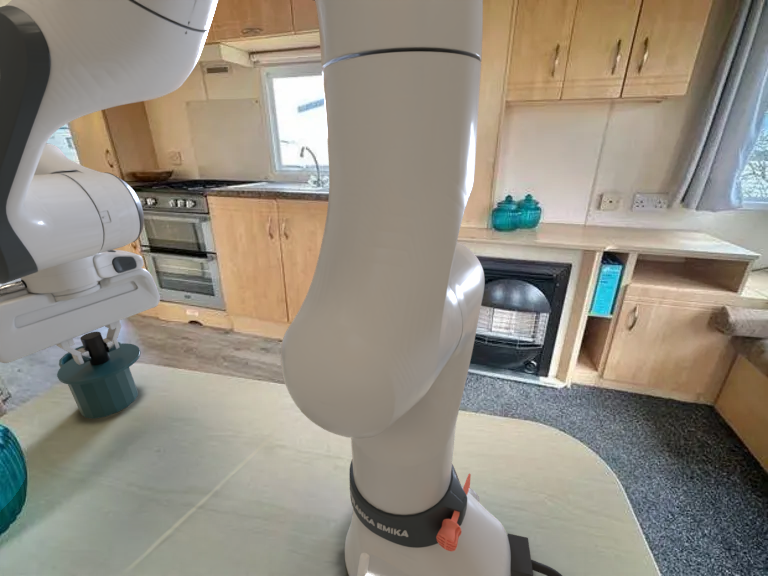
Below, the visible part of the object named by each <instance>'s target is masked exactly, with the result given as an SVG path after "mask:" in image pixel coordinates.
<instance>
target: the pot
mask: <svg viewBox="0 0 768 576" xmlns="http://www.w3.org/2000/svg"><path fill="white" fill-rule="evenodd" d="M118 344H122V343H121V342H119V341H118ZM81 348H84V346H83V345H81V346H78V347H75V348H74V349H75V350H78V349H81ZM71 359H73V356H72V354H71V353H69V352H67V353H64V354H63V356H61V357H60V358H59V361H58V366H59V369H60V368H61V367H62V366H63V365H64V364H65V363H67V362H68V361H70V360H71ZM135 382H136V381H135V379H134V377H133V374H132V370H131V368H130V367H128V368H127V369H125V370H124V371H122V372H120V373H118V374H116V375H113V376H111V377H108V378H106V379H103V380H99V381H96V382H92V383H87V384H79V385H70V384H67V386H68V389H69V391H70V393H71V395H72V398H73V400H74V402H75V404H76V406H77V408H78V410H79V413H80V415H81V416H83V417H84V418H85V419H100V418H105V417H109V416H111V415H115V414H117V413H119V412H120V411H122V410H124V409H126V408H128V407H129V406H130V405H131V404H132V403H134V401H136V399H137V397H138V396H139V392H138V388H137V385H136V383H135Z"/></svg>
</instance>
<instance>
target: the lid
mask: <svg viewBox="0 0 768 576" xmlns="http://www.w3.org/2000/svg"><path fill="white" fill-rule="evenodd" d="M79 339H80V341H81V344H82V346H84V349H85V350H88V351H89V354H90V355H89V356H90V357H91V359H92V360H90V361H88V362H86V363H84V364H81V365H79V364H77V363H76V362H75V361H74V358H73V359H71V360H70V361H68V362H67V363H65V364H64V365H63V366H62V367H61V368H60V367H59V369H58V371H57V373H56V377H57V379H58V381H59V382H60V383H62V384H64V385H68V384H70V385H79V384H87V383H92V382H96V381H99V380H103V379H106V378H108V377H111V376H113V375H116V374H118V373H120V372H122V371H124V370H125V369H127V368H128V367H129V368H130V367H131V366H133V365H134V364H135V363H136V362H138V360H139V359H140V357H141V353H142V352H141V349H140V347H139V346H138V345H136V344H133V343H121V344H119V347H120V348H118V349H115V350H113V351H111V352H108V351H107V348H106V346H105V343H104V341H103V339H104V338H103V336H102V333H101V331H91V332H88V333H86V334H83V335H81V336H80V337H79Z"/></svg>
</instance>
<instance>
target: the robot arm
mask: <svg viewBox="0 0 768 576" xmlns="http://www.w3.org/2000/svg"><path fill="white" fill-rule="evenodd" d="M313 1H314V3H315V7H316V15H317V21H318V32H319V47H320V62H321V70H322V71H321V74H322V75H321V76H322V83H323V84H322V85H323V98H324V100H323V101H324V109H325V110H324V112H325V114H324V115H325V125H326V126H325V127H326V142H327V153H328V154H327V157H328V198H327V199H328V200H327V201H328V202H327V210H326V217H325V223H324V228H323V234H322V239H321V244H320V249H319V253H318V257H317V262H316V265H315V269H314V273H313V276H312V279H311V282H310V285H309V288H308V290H307V292H306V296H305V298H304V299H303V302H302V304H301V306H300V308H299V310H298V311H297V313H296V315H295V316H294V318H293V319H292V322H290V324H289V326H288V327H287V329H286V331H285V332H284V335H283V337H282V341H281V346H280V368H281V372H282V378H283V381H284V385H285V387H286V390H287V392H288V394H289V396H290V398H291V400H292V401H293V403H294V404H295V406H296V407H297V409H298V410H299V411H300V412H301V413H302V414H303V415H304V416H305V417H306V418H307V419H308V420H309V421H310V422H312V423H313V424H315V425H316V426H318V427H320V428H321V429H322V430H324V431H327V432H329V433H331V434H333V435H337V436H340V437H343V438H350V447H351V461H350V464H349V497H350V502H351V506H352V517H351V521H350V525H349V527H348V530H347V532H346V536H345V542H344V561H345V567H346V571H347V574H348V576H534V572H536V573H539V574H542V575H545V576H563V575H562V574H561V573H560V572H559V571H557V570H556V569H555V568H553V567H551V566H549V565H547V564H544V563H542V562H539V561H537V560H533V559H532V557H531V550H530V549H531V548H530V542H529V537H526V536H522V535H517V534H512V533H508V532H507V531H506V529H505V527H504V525H503V524H502V523H501V521H500V520H499V519H498V518H496V517H495V515H493V514H492V513H491V512H490V511H489V510H488V509H487V508H486V507H484V505H482V504H481V503H480V496H479V495H478V494H477V492H476V491H475V490H474V489H472V488H471V473H468V475H467V477H466V480H465V482H464V485H463V486H462V484H461V481H460V478H459V477H458V476H459V475H458V473H457V471H456V468H455V466H454V464H453V458H454V449H455V441H456V440H455V438H456V431H457V430H456V429H457V423H458V417H459V411H460V409H461V408H460V407H461V404H462V399H463V396H464V391H465V387H466V382H467V378H468V373H469V369H470V366H471V365H470V364H471V361H472V360H471V359H472V356H473V351H474V350H473V349H474V346H475V345H474V344H475V340H476V335H477V329H478V323H479V319H480V313H481V308H482V302H483V299H484V292H485V286H486V285H485V283H486V281H485V280H486V279H485V271H484V268H483V266H482V263H481V262H480V260H479V258H478V257H477V255H476V254H475V253H474V252H473V251H472V250H471V249H470V248H469V247H468V246H466V245H464V244H463V243H461V242H459V241H458V239H459V234H460V231H461V227H462V222H463V218H464V215H465V211H466V207H467V204H468V201H469V199H470V196H471V194H472V191H473V189H474V188H473V187H474V184H475V172H476V155H477V140H478V139H477V138H478V125H479V124H478V123H479V122H478V121H479V107H480V90H481V75H482V55H483V31H484V0H313ZM218 2H219V0H10V1H9V2H8V3H6V4H5V5H2V6H0V363H1V364H9V363H12V362H15V361H17V360H20V359H22V358H25V357H28V356H31V355H33V354H36V353H39V352H41V351H43V350H46V349H49V348H51V347H54V346H56V347H58V348H60V349H62V351H63V350H64V351H66V352H67V353H68V352H69V353H71V354H72V356H73V358H74V361H75V362H76V363H77V364H79V365H81V364H84V363H86V362H88V361H90V360H92V359H91V357H90V356H89V355H90V354H89V351H88V350H85V349H84V348H81V349H78V350H75V349H76V348H74V347H72V346H74V345H75V340H74V339H76V338H78V337H81V336H83V335H85V334H87V333H91V332H94V331H96V330H98V329H101V328H104V327H105V328H107V333H106V337H105V338H103V341H104V343H105V346H106V348H107V351H108V352H111V351H113V350H115V349H118V348H120V347H119V344H118V342H119V340H118V338H119V335H120V333H121V329H122V324H121V321H122V320H125V319H128V318H130V317H132V316H135V315H138V314H140V313H143V312H146V311H149V310H150V309H153V308H157V307H158V305H159V303H160V301H161V296H160V292H159V289H158V286H157V284H156V282H155V279H154V277H153V275H152V274H151V273H150V271H149V270H147V268H143V267H144V264H145V261H144V258H143V257H142V255H140V254H137V253H135V252H132V251H127V250H122V249H121V248H123V247H125V246H129V245H130V244H132V243H135V242H136V241H137V240H139V237H140V236H141V234H142V233H143V229H144V225H145V215H144V209H143V205H142V203H141V201H140V199H139V197H138V194H137V193H136V192H135V190H134V189H133V187H131V186H130V185H129V184H128V183H127V182H126V181H124V180H123V179H122V178H121V177H119V176H117V175H115V174H113V173H110V172H107V171H106V172H102V171H98V170H96V169H92V168H90V167H87V166H84V165H81V164H80V163H78V162H76V161H73V160H71V159H70V158H68V157H67V156H66V155H65V154H64V152H63V151H62V150H61V148H59V147H58V146H57V145H55V144H52V143H50V142H48V141H49V140H50V138H51V137H52V136H53V134H55V133H56V132H57V131H58V130H59V129H61V128H63V127H64V126H65V125H67V124H69V123H70V122H73V121H75V120H77V119H79V118H82V117H85V116H88V115H91V114H93V113H97V112H100V111H103V110H107V109H110V108H115V107H119V106H124V105H128V104H129V105H130V104H135V103H141V102H145V101H146V102H147V101H151V100H155V99H159V98H162V97H165V96H167V95H169V94H171V93H174V92H175V91H177V90H178V89H179V88H181V87H182V86H183V85H184V83H185V82H186V81H187V79H188V78H189V77H190V75H191V74H192V72H193V71H194V69H195V68H196V65H197V64H198V62H199V60H200V58H201V54H202V53H203V49H204V45H205V43H206V39H207V36H208V33H209V31H210V28H211V24H212V21H213V17H214V15H215V11H216V8H217V4H218ZM119 249H120V250H119ZM18 279H20V280H18ZM17 280H18V281H17Z"/></svg>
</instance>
